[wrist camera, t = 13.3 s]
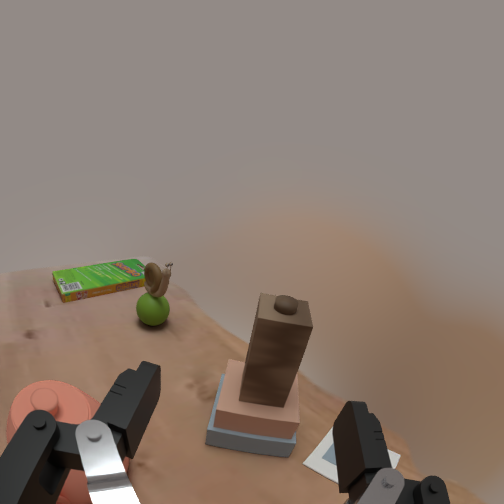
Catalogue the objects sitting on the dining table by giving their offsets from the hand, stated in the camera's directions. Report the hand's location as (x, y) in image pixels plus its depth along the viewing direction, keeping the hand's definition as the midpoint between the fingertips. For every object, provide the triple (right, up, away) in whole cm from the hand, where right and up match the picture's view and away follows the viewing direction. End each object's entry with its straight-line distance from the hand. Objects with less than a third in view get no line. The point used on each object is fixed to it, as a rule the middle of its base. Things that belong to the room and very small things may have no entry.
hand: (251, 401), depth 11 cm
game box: (-30, -1, +43) cm, 52 cm away
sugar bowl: (-17, -15, +7) cm, 24 cm away
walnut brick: (+1, -8, +17) cm, 19 cm away
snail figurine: (-16, -6, +34) cm, 38 cm away
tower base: (0, -14, +19) cm, 23 cm away
